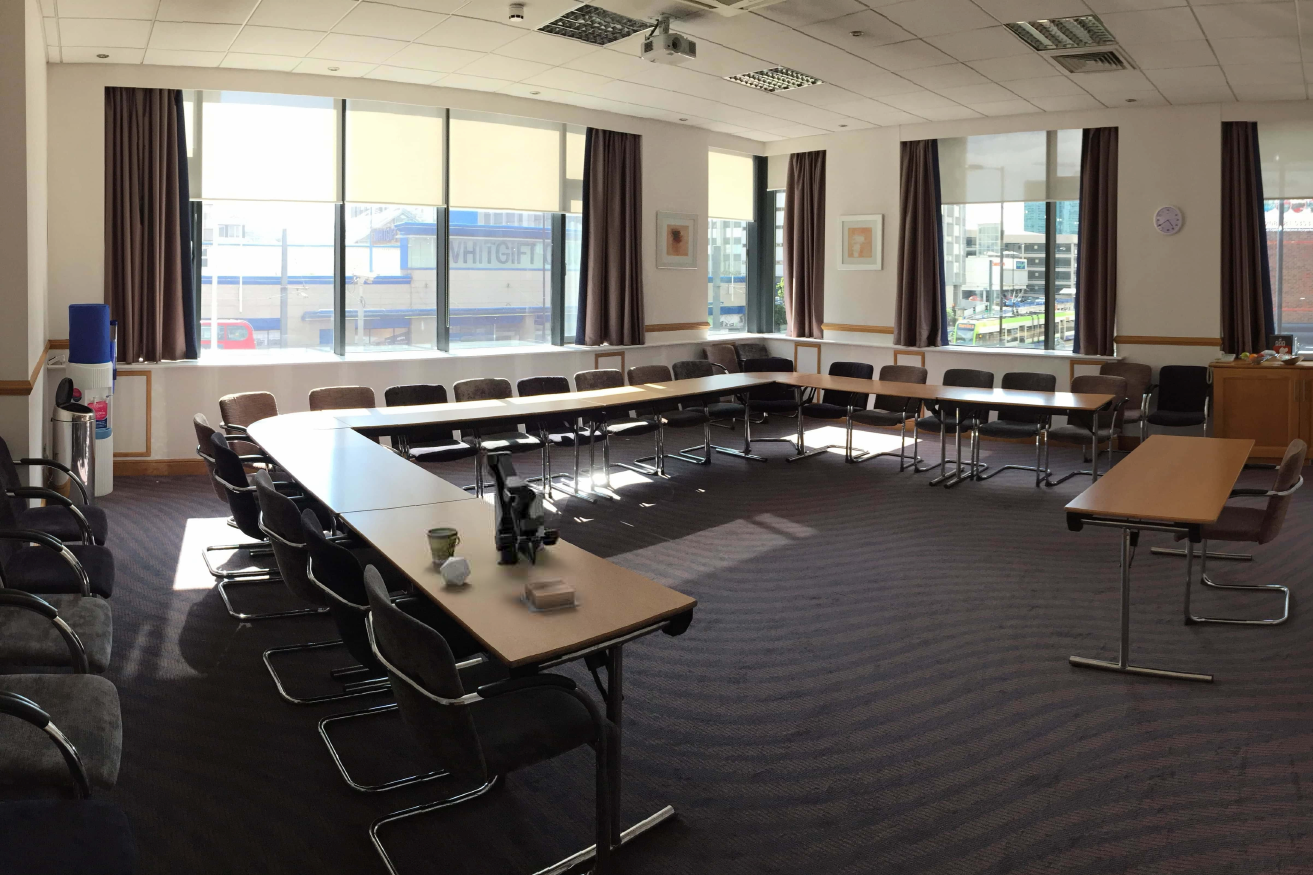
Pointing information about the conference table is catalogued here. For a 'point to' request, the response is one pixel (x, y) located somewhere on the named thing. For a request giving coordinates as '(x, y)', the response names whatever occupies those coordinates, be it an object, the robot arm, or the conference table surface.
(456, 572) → the die
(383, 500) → the conference table surface
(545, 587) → the walnut slab
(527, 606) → the felt mat
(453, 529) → the ceramic cup
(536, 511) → the hard drive box
